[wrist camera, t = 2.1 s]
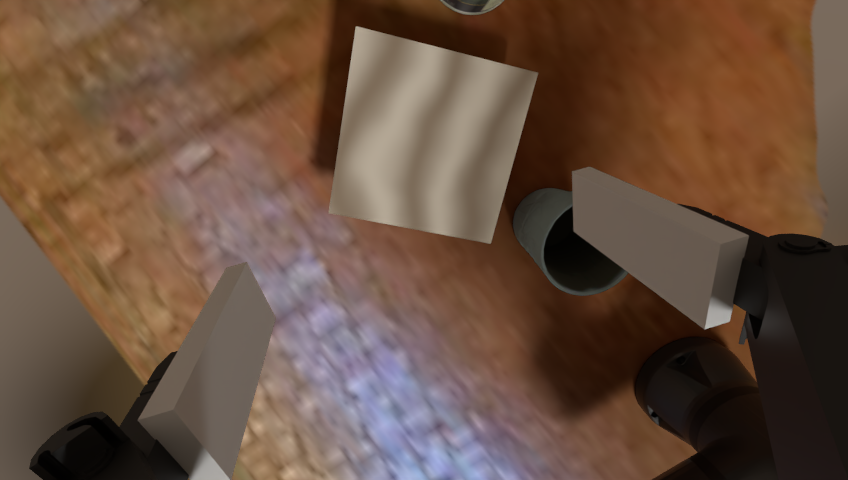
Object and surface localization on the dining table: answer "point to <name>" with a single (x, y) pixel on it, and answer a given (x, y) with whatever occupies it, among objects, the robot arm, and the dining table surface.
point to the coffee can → (472, 6)
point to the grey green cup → (562, 244)
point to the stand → (427, 136)
